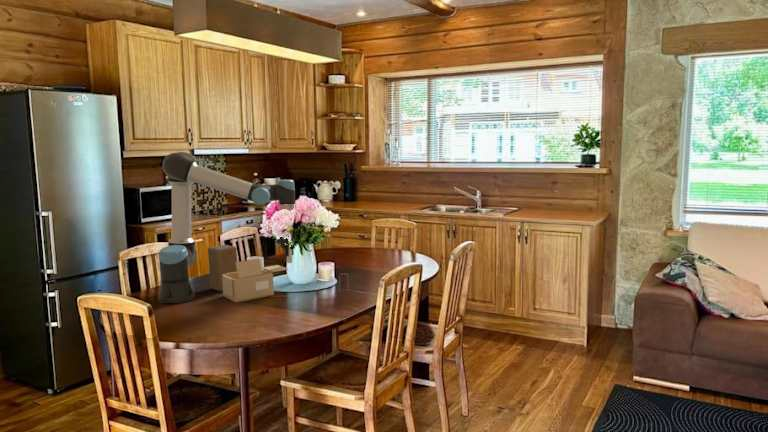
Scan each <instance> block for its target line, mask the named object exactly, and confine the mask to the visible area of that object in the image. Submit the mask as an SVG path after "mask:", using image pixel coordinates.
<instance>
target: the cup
mask: <svg viewBox="0 0 768 432" xmlns="http://www.w3.org/2000/svg"><path fill="white" fill-rule="evenodd" d="M254 259H259V260H260V264H261V268H263V267H265V264H264V263H265V262H264V257H263V256H261V255H258V256H249V257H247V258H246V261H248V260H254ZM262 270H265V269H262Z"/></svg>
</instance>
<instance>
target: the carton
mask: <svg viewBox="0 0 768 432" xmlns="http://www.w3.org/2000/svg"><path fill="white" fill-rule="evenodd" d="M262 272H263V274H260V275H255V276H249V277H243V278H239V276H238V272H231V273H227V274H222V283H223V291H222V293H223V294H222V295H223V297H224V298H226V299H228V300H230V301H232V302H233V303H241V302H247V301H251V300H257V299H261V298H267V297H271V296H274V295H275V291H274V274H273V273H274V272H270V271H267V270H265V269H264V270H262Z"/></svg>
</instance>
